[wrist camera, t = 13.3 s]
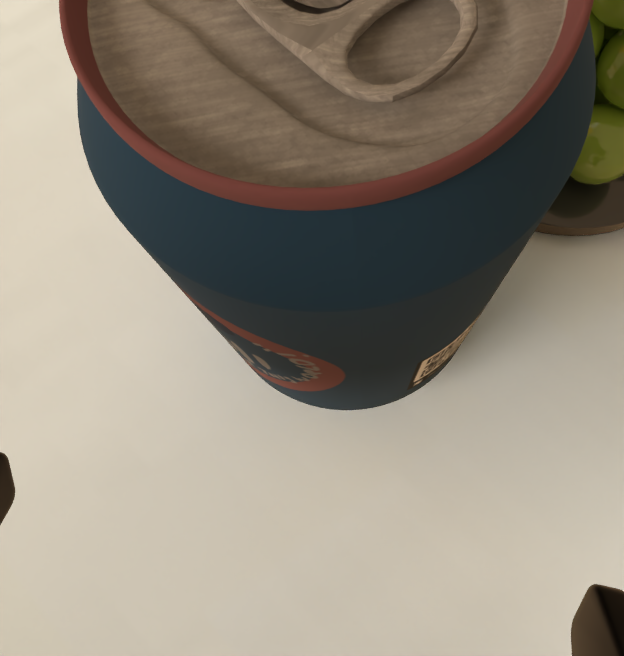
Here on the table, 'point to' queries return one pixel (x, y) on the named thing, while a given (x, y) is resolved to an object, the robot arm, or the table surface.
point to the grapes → (598, 140)
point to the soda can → (334, 166)
